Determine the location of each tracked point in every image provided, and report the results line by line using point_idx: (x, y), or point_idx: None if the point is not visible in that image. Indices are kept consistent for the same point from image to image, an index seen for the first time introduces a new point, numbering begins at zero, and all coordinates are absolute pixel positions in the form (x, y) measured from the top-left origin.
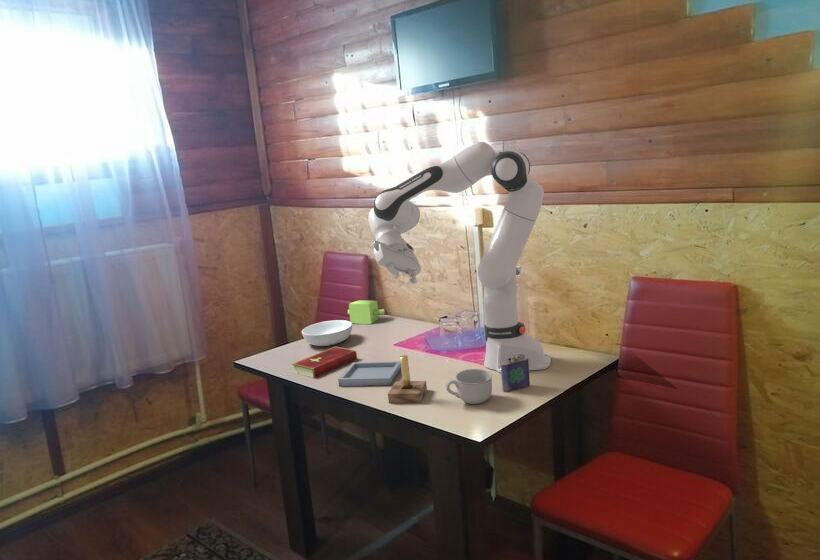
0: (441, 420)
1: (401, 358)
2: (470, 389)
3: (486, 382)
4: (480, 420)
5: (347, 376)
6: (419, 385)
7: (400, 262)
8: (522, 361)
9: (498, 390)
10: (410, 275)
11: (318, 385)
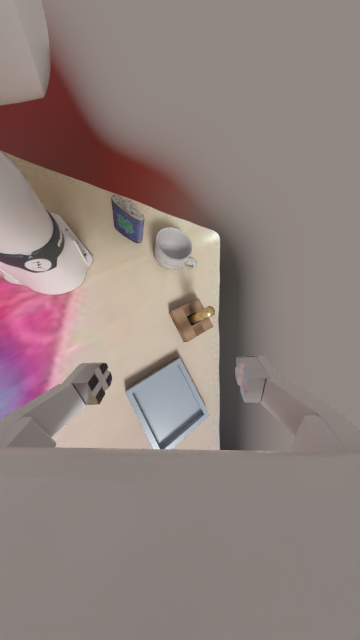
0: (210, 268)
1: (214, 311)
2: (187, 245)
3: (177, 230)
4: (196, 241)
5: (188, 423)
6: (184, 309)
7: (212, 482)
8: (122, 200)
9: (140, 247)
10: (49, 436)
11: (214, 438)
